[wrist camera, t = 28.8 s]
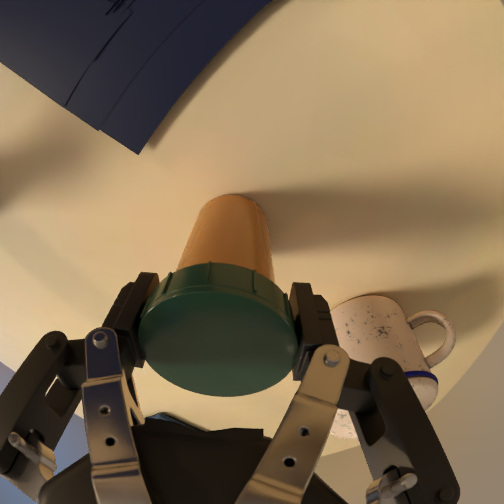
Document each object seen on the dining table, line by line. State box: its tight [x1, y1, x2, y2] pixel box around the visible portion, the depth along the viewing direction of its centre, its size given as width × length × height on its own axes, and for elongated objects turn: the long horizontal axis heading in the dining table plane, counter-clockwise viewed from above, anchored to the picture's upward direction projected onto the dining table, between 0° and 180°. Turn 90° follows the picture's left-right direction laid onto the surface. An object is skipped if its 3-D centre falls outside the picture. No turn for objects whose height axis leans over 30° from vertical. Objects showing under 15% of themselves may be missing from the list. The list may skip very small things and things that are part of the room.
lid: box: [138, 261, 299, 397], centre depth 11 cm, size 6×6×2 cm
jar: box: [176, 195, 275, 283], centre depth 15 cm, size 5×5×10 cm
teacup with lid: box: [330, 295, 456, 439], centre depth 19 cm, size 12×9×12 cm
